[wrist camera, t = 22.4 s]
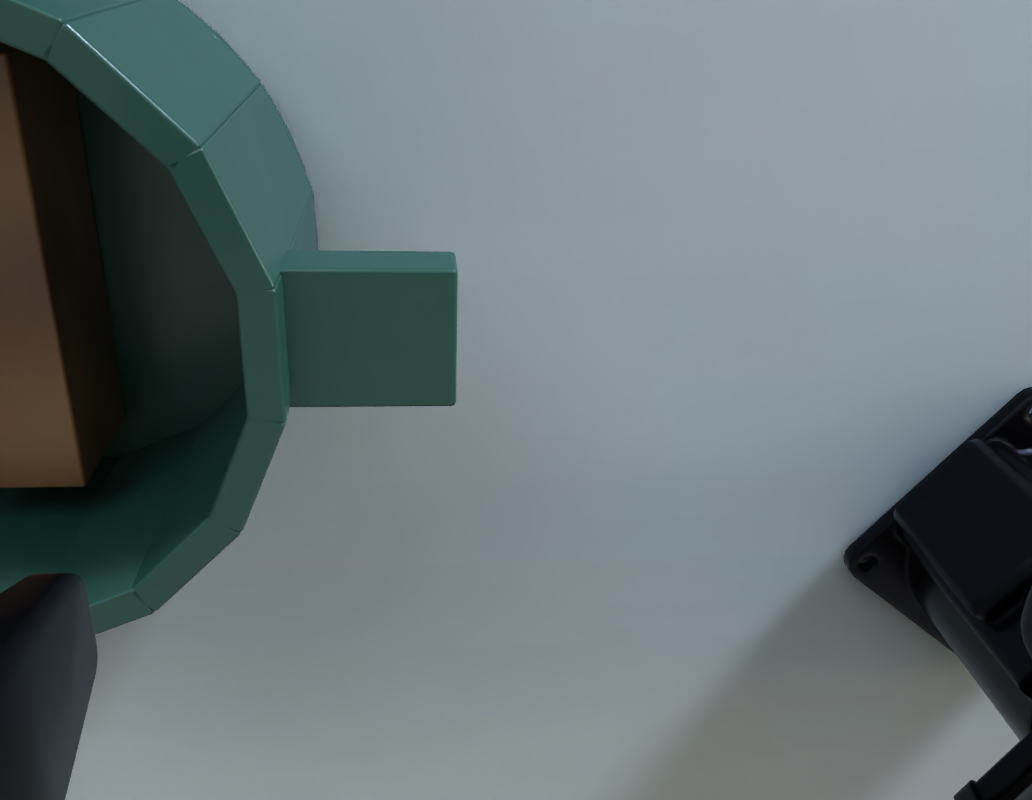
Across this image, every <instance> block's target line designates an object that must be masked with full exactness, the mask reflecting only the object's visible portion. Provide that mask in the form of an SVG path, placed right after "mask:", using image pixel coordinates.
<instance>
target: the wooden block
mask: <svg viewBox="0 0 1032 800" xmlns="http://www.w3.org/2000/svg"><path fill="white" fill-rule="evenodd" d="M125 417H126V415H125V409H124V403H123V396H122V390H121V383H120V377H119V370H118V364H117V357H116V351H115V345H114V338H113V332H112V325H111V319H110V312H109V306H108V299H107V293H106V287H105V280H104V274H103V267H102V261H101V254H100V248H99V242H98V235H97V229H96V222H95V216H94V209H93V203H92V196H91V190H90V184H89V177H88V171H87V164H86V158H85V151H84V145H83V138H82V132H81V126H80V119H79V113H78V106H77V100H76V93H75V87H74V86H73V85H72V84H71V83H70V82H69V81H68V80H66V79H65V78H64V77H63V76H62V75H61V74H60V73H59V72H57V71H56V70H55V69H54V68H53V67H52V66H51V65H50V64H48V63H47V62H46V61H45V60H42V59H40V58H38V57H35V56H33V55H30V54H28V53H26V52H23V51H21V50H18V49H16V48H14V47H11V46H9V45H6V44H4V43H2V42H0V488H47V487H84V486H86V485H87V483H88V481H89V479H90V478H91V476H92V474H93V473H94V471H95V469H96V467H97V466H98V464H99V462H100V460H101V459H102V457H103V455H104V454H105V452H106V450H107V448H108V447H109V445H110V443H111V442H112V440H113V438H114V436H115V435H116V433H117V431H118V430H119V428H120V426H121V424H122V423H123V421H124V419H125Z"/></svg>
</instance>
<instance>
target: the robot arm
mask: <svg viewBox="0 0 1032 800" xmlns="http://www.w3.org/2000/svg"><path fill="white" fill-rule="evenodd" d="M1031 408H1032V387H1030V388H1027V389H1024V390H1022V391H1021V392H1019V393H1018V394H1017V395H1016V396H1014V397H1013V398H1012V399H1011V400H1010V401H1009V402H1008V403H1007V404H1006V405H1005V406H1003V407H1002V408H1001V409H1000V410H999V411H998V412H997V413H996V414H995V415H993V416H992V417H991V418H990V419H989V420H988V421H987V422H986V423H985V424H984V425H982V426H981V427H980V428H979V429H978V430H977V431H976V432H975V433H974V434H973V435H971V436H970V437H969V438H968V439H967V440H966V441H965V442H964V443H963V444H961V445H960V446H959V447H958V448H957V449H956V450H955V451H954V452H953V453H952V454H950V455H949V456H948V457H947V458H946V459H945V460H944V461H943V462H942V463H941V464H939V465H938V466H937V467H936V468H935V469H934V470H933V471H932V472H931V473H929V474H928V475H927V476H926V477H925V478H924V479H923V480H922V481H921V482H920V483H918V484H917V485H916V486H915V487H914V488H913V489H912V490H911V491H910V492H909V493H907V494H906V495H905V496H904V497H903V498H902V499H901V500H900V501H899V502H897V503H896V504H895V505H894V506H893V507H892V508H891V509H890V510H889V511H888V512H886V513H885V514H884V515H883V516H882V517H881V518H880V519H879V520H878V521H877V522H875V523H874V524H873V525H872V526H871V527H870V528H869V529H868V530H867V531H865V532H864V533H863V534H862V535H861V536H860V537H859V538H858V539H857V540H856V541H854V542H853V543H852V544H851V545H850V546H849V547H848V549H847V550H846V551H845V554H844V563H845V565H846V566H847V568H848V569H849V571H850V572H851V573H852V575H853V576H854V577H855V578H856V579H858V580H859V581H860V582H862V583H863V584H864V585H866V586H867V587H868V588H870V589H871V590H872V591H874V592H875V593H876V594H878V595H879V596H880V597H882V598H883V599H884V600H886V601H887V602H888V603H889V604H891V605H892V606H893V607H895V608H896V609H897V610H899V611H900V612H901V613H903V614H904V615H905V616H907V617H908V618H909V619H911V620H912V621H913V622H915V623H916V624H917V625H918V626H920V627H921V628H922V629H924V630H925V631H926V632H928V633H929V634H930V635H932V636H933V637H934V638H936V639H937V640H938V641H940V642H941V643H942V644H944V645H945V646H946V647H947V648H949V649H950V650H951V651H953V652H954V653H955V654H956V655H957V656H958V658H959V659H960V660H961V662H962V663H963V664H964V666H965V667H966V668H967V670H968V671H969V672H970V674H971V675H972V676H973V678H974V679H975V680H976V682H977V683H978V685H979V686H980V687H981V689H982V690H983V691H984V693H985V694H986V695H987V697H988V698H989V699H990V701H991V702H992V703H993V705H994V706H995V707H996V709H997V710H998V711H999V713H1000V714H1001V715H1002V717H1003V718H1004V720H1005V721H1006V722H1007V724H1008V725H1009V726H1010V728H1011V729H1012V730H1013V732H1014V733H1015V734H1016V736H1017V737H1018V738H1019V740H1020V742H1018V743H1017V744H1016V745H1015V746H1014V747H1013V748H1012V749H1011V750H1010V751H1009V752H1008V753H1007V754H1006V755H1004V756H1003V757H1002V758H1001V759H1000V760H999V761H998V762H997V763H996V764H995V765H994V766H993V767H992V768H991V769H989V770H988V771H987V772H986V773H985V774H984V775H983V776H982V777H981V778H980V779H979V780H978V781H977V782H976V781H973V780H971V781H969V782H968V783H967V784H966V785H965V786H964V787H963V788H962V789H961V790H960V791H959V792H958V793H957V794H956V795H955V796H954V800H1032V413H1031V414H1029V410H1030V409H1031ZM867 556H871V557H870V559H869V560H868V561H866V562H864V563H860V562H861V560H862V559H863V558H865V557H867ZM96 668H97V645H96V639H95V634H94V628H93V623H92V618H91V613H90V607H89V602H88V597H87V592H86V587H85V584H84V582H83V580H82V578H81V577H80V576H78V575H77V574H75V573H42V574H31V575H28V576H27V577H25V578H23V579H21V580H20V581H18V582H17V583H15V584H14V585H12V586H11V587H9V588H8V589H6V590H5V591H3V592H2V593H0V800H65V797H66V793H67V789H68V785H69V781H70V777H71V773H72V769H73V765H74V761H75V757H76V752H77V748H78V744H79V740H80V736H81V732H82V728H83V724H84V720H85V716H86V712H87V708H88V703H89V699H90V695H91V691H92V687H93V683H94V679H95V674H96Z"/></svg>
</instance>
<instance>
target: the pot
mask: <svg viewBox="0 0 1032 800" xmlns="http://www.w3.org/2000/svg"><path fill="white" fill-rule="evenodd" d="M0 42H2V43H4V44H6V45H9V46H11V47H14V48H16V49H18V50H21V51H23V52H26V53H28V54H30V55H33V56H35V57H38V58H40V59H42V60H45V61H46V62H47V63H48V64H50V65H51V66H52V67H53V68H54V69H55V70H56V71H57V72H59V73H60V74H61V75H62V76H63V77H64V78H65V79H66V80H68V81H69V82H70V83H71V84H72V85H73V86H74V87H75V93H76V100H77V106H78V113H79V119H80V126H81V132H82V138H83V145H84V151H85V158H86V164H87V171H88V177H89V184H90V190H91V196H92V203H93V209H94V216H95V222H96V229H97V235H98V242H99V248H100V254H101V261H102V267H103V274H104V280H105V287H106V293H107V299H108V306H109V312H110V319H111V325H112V332H113V338H114V345H115V351H116V357H117V364H118V370H119V377H120V383H121V390H122V396H123V403H124V409H125V415H126V417H125V419H124V421H123V423H122V424H121V426H120V428H119V430H118V431H117V433H116V435H115V436H114V438H113V440H112V442H111V443H110V445H109V447H108V448H107V450H106V452H105V454H104V455H103V457H102V459H101V460H100V462H99V464H98V466H97V467H96V469H95V471H94V473H93V474H92V476H91V478H90V479H89V481H88V483H87V485H86V486H84V487H47V488H0V593H2V592H3V591H5V590H6V589H8V588H9V587H11V586H12V585H14V584H15V583H17V582H18V581H20V580H21V579H23V578H25V577H27V576H28V575H31V574H42V573H75V574H77V575H78V576H80V577H81V578H82V580H83V582H84V584H85V587H86V592H87V597H88V602H89V607H90V613H91V618H92V623H93V628H94V634H98V633H101V632H104V631H106V630H109V629H112V628H114V627H117V626H120V625H123V624H125V623H128V622H131V621H133V620H136V619H139V618H142V617H144V616H147V615H150V614H152V613H153V612H154V611H156V610H158V609H159V608H160V607H161V606H162V605H163V604H164V603H166V602H167V601H168V600H169V599H170V598H171V597H172V596H173V595H174V594H175V593H176V592H178V591H179V590H180V589H181V588H182V587H183V586H184V585H185V584H186V583H187V582H188V581H190V580H191V579H192V578H193V577H194V576H195V575H196V574H197V573H198V572H199V571H200V570H202V569H203V568H204V567H205V566H206V565H207V564H208V563H209V562H210V561H211V560H213V559H214V558H215V557H216V556H217V555H218V554H219V553H220V552H221V551H222V550H223V549H225V548H226V547H227V546H228V545H229V544H230V543H231V542H232V541H233V540H234V539H235V538H237V537H238V536H239V535H240V532H241V531H242V530H243V529H244V526H245V524H246V521H247V519H248V516H249V514H250V511H251V509H252V506H253V504H254V501H255V499H256V496H257V494H258V491H259V489H260V486H261V484H262V481H263V479H264V476H265V474H266V471H267V469H268V466H269V464H270V461H271V459H272V456H273V454H274V451H275V449H276V446H277V444H278V441H279V439H280V436H281V434H282V431H283V429H284V426H285V423H286V419H287V415H288V411H289V407H358V406H452V405H454V404H455V402H456V351H457V265H456V257H455V254H454V253H453V252H416V251H317V247H318V237H317V228H316V220H315V212H314V197H313V191H312V187H311V185H310V183H309V180H308V178H307V176H306V172H305V169H304V166H303V164H302V161H301V159H300V156H299V154H298V151H297V149H296V146H295V143H294V141H293V138H292V136H291V134H290V132H289V130H288V128H287V126H286V124H285V123H284V121H283V119H282V117H281V115H280V114H279V112H278V110H277V108H276V106H275V104H274V103H273V101H272V99H271V98H270V96H269V95H268V94H267V92H266V90H265V88H264V86H263V85H262V84H260V81H259V79H258V78H257V77H256V76H255V75H254V74H253V73H252V71H251V70H250V68H249V67H248V66H247V65H246V64H245V63H244V61H243V60H242V59H241V58H240V57H239V56H238V55H237V54H236V53H235V52H234V50H233V49H232V48H231V47H230V46H229V45H228V44H227V43H226V42H225V41H224V39H223V38H222V37H221V36H220V35H219V34H218V33H216V32H215V31H214V30H213V29H212V28H211V27H209V26H208V25H207V24H206V23H205V22H204V21H203V20H201V19H200V18H199V17H198V16H197V15H196V14H195V13H193V12H192V11H191V10H190V9H189V8H188V7H186V6H185V5H183V4H182V3H180V2H179V1H177V0H0Z"/></svg>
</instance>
